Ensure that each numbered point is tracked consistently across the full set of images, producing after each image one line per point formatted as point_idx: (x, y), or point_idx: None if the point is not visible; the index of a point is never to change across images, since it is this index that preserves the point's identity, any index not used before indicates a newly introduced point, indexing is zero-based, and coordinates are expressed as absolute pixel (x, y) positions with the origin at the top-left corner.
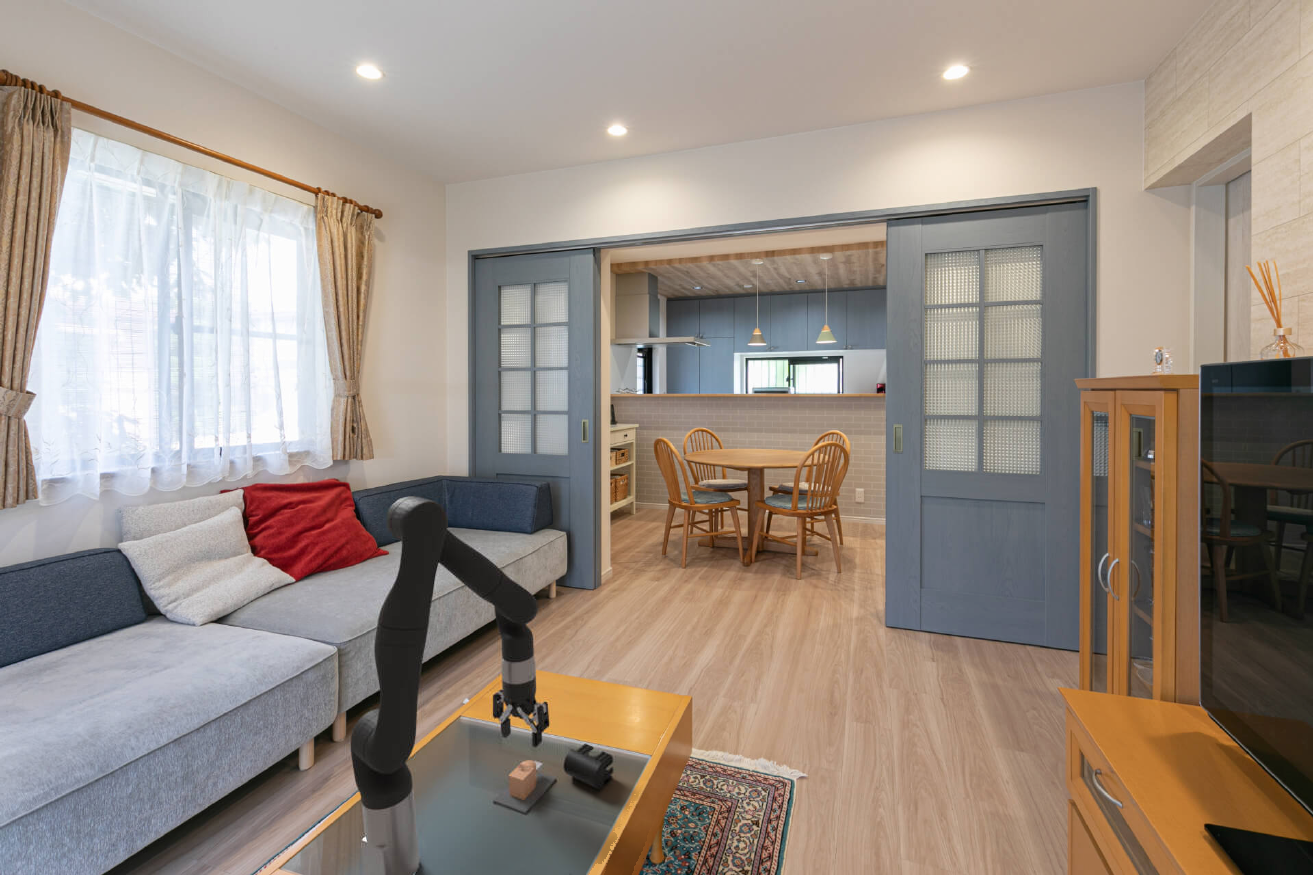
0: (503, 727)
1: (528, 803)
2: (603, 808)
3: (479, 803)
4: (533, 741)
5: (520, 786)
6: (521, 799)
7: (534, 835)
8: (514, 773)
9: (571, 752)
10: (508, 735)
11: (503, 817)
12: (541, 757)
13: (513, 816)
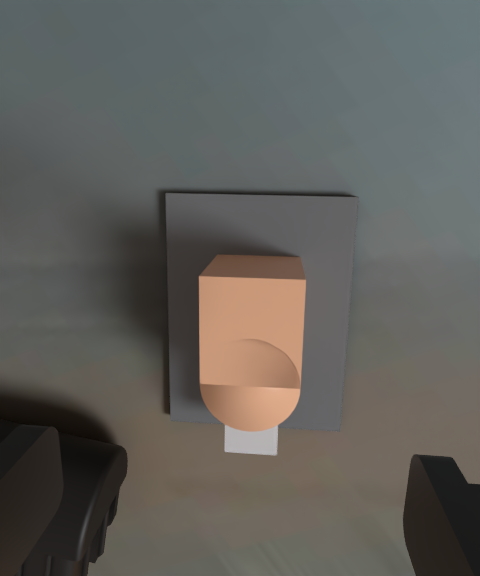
0: (478, 550)
1: (185, 243)
2: None
3: (418, 163)
4: (1, 459)
5: (224, 266)
6: (230, 253)
7: (50, 98)
8: (282, 307)
9: (63, 537)
10: (406, 497)
11: (247, 132)
12: (315, 510)
13: (208, 157)
